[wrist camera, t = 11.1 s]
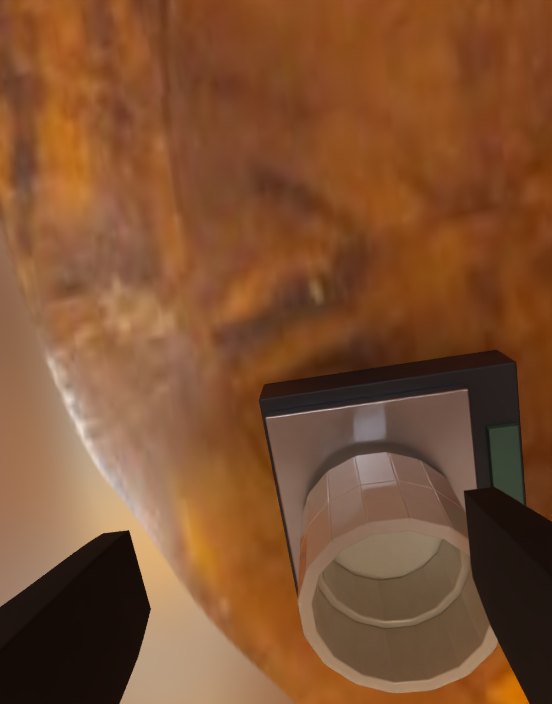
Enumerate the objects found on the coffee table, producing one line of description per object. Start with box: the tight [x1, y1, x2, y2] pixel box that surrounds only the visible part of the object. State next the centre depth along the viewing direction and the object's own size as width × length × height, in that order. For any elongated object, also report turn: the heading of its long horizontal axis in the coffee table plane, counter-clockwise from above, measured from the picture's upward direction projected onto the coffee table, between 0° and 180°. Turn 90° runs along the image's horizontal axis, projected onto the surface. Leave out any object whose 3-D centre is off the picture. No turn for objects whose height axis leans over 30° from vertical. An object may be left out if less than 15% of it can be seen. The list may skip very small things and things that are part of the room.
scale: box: [259, 350, 526, 597], centre depth 19 cm, size 9×10×2 cm
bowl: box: [298, 452, 498, 693], centre depth 16 cm, size 6×6×4 cm
